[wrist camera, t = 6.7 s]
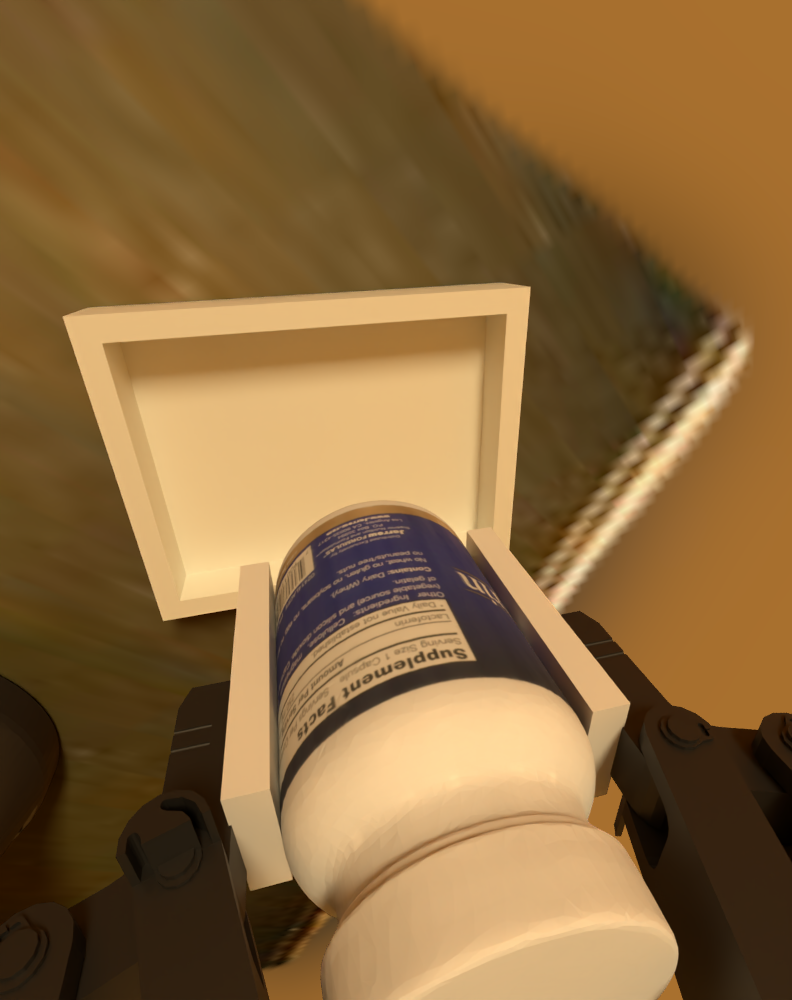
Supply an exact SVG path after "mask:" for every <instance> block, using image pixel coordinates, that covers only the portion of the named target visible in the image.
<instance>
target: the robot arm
mask: <svg viewBox="0 0 792 1000" xmlns="http://www.w3.org/2000/svg"><path fill="white" fill-rule="evenodd" d="M466 549H467V550H468V552H469V553H470V555H471V557H472V558H473V560H474V561H475V563H476V564H477V566H478V567H479V569H480V570H481V572H482V573H483V575H484V576H485V578H486V579H487V581H488V582H489V584H490V585H491V587H492V588H493V590H494V591H495V593H496V594H497V596H498V597H499V599H500V600H501V602H502V604H503V605H504V607H505V608H506V610H507V611H508V613H509V614H510V616H511V617H512V619H513V620H514V622H515V623H516V625H517V626H518V628H519V629H520V631H521V632H522V634H523V635H524V637H525V638H526V640H527V641H528V643H529V644H530V646H531V647H532V649H533V650H534V652H535V653H536V655H537V656H538V658H539V659H540V661H541V662H542V664H543V665H544V667H545V668H546V670H547V671H548V673H549V674H550V676H551V677H552V679H553V680H554V682H555V683H556V684H557V686H558V687H559V689H560V690H561V692H562V693H563V695H564V696H565V698H566V699H567V701H568V702H569V704H570V705H571V707H572V709H573V710H574V712H575V713H576V715H577V717H578V718H579V720H580V722H581V724H582V726H583V728H584V729H585V732H586V734H587V736H588V739H589V742H590V744H591V748H592V751H593V756H594V762H595V773H596V782H595V794H594V797H598V796H602V795H605V794H607V790H608V787H609V783H610V779H611V777H612V778H613V780H614V781H615V783H616V784H617V786H618V787H619V789H620V790H621V792H622V794H623V795H622V799H621V802H620V806H619V809H618V813H617V816H616V820H615V823H614V827H615V836H621V835H622V832H623V828H624V825H626V828H627V831H628V834H629V837H630V840H631V843H632V846H633V849H634V852H635V855H636V858H637V861H638V864H639V867H640V870H641V873H642V876H643V879H644V881H645V883H646V885H647V887H648V888H649V890H650V892H651V894H652V896H653V897H654V899H655V901H656V903H657V905H658V906H659V908H660V910H661V912H662V914H663V916H664V917H665V919H666V921H667V923H668V924H669V926H670V928H671V930H672V932H673V934H674V936H675V939H676V943H677V946H678V962H677V966H676V970H675V972H674V973H675V976H676V979H677V982H678V985H679V988H680V991H681V995H682V998H683V1000H792V714H789V713H772V714H770V715H768V716H766V717H764V718H763V720H762V723H761V725H760V727H759V729H758V730H751V729H737V728H725V727H716V726H711V725H710V724H709V723H708V722H706V721H705V720H704V719H702V718H701V717H700V716H698V715H697V714H696V713H693V712H691V711H689V710H686V709H684V708H682V707H677V706H672V705H671V704H670V703H669V702H667V700H666V699H665V698H664V697H663V696H662V695H661V693H660V692H659V691H658V690H657V689H656V688H655V687H654V685H652V683H651V682H650V681H649V680H648V679H647V677H646V676H645V675H644V674H643V673H642V672H641V671H640V670H639V668H638V667H637V666H636V665H635V664H634V663H633V662H632V661H631V659H630V658H629V657H628V656H627V655H626V654H624V653H623V650H622V649H621V648H620V647H619V646H618V644H617V643H616V642H613V640H612V638H611V637H610V635H609V634H608V633H607V632H606V631H605V630H604V628H603V627H602V626H601V625H600V624H599V623H598V622H596V621H595V620H593V619H592V618H590V617H588V616H587V615H585V614H584V613H582V612H580V611H577V612H572V613H567V614H562V615H560V614H559V613H558V611H557V610H556V609H555V607H554V606H553V605H552V604H551V602H550V601H549V600H548V599H547V597H546V596H545V595H544V594H543V592H542V591H541V590H540V589H539V587H538V586H537V585H536V583H535V582H534V581H533V580H532V578H531V577H530V576H529V575H528V573H527V572H526V571H525V570H524V568H523V567H522V566H521V565H520V563H519V562H518V561H517V559H516V558H515V557H514V556H513V554H512V553H511V552H510V551H509V549H508V548H507V547H506V546H505V544H504V543H503V542H502V541H501V539H500V538H499V537H498V535H497V534H496V533H495V532H494V530H493V529H492V528H491V527H488V528H481V529H475V530H468V531H467V538H466ZM174 732H175V735H174V736H173V741H172V746H171V755H170V756H169V762H168V767H167V772H166V777H165V782H164V788H163V793H162V794H161V795H159V796H157V797H156V798H154V799H153V800H151V801H150V802H148V803H146V804H145V805H143V806H142V807H141V808H140V809H139V810H138V811H137V813H136V814H135V815H134V816H133V817H132V818H131V819H130V820H129V821H128V823H127V825H126V827H125V828H124V830H123V832H122V834H121V836H120V838H119V841H118V847H117V853H116V859H117V861H118V862H119V864H120V866H121V868H122V870H123V872H124V875H123V876H122V877H120V878H119V879H117V880H116V881H115V882H113V883H112V884H110V885H109V886H107V887H105V888H104V889H102V890H100V891H99V892H97V893H95V894H93V895H92V896H90V897H88V898H86V899H85V900H83V901H81V902H80V903H78V904H76V905H74V906H73V907H71V908H69V909H67V908H66V907H64V906H62V905H59V904H57V903H55V902H49V903H40V904H35V905H33V906H31V907H28V908H26V909H24V910H22V911H20V912H18V913H16V914H14V915H13V916H12V917H11V918H9V919H8V920H7V921H6V922H4V923H3V924H2V925H1V926H0V1000H269V996H268V992H267V988H266V985H265V980H264V976H263V972H262V968H261V964H260V960H259V956H258V952H257V948H256V944H255V940H254V936H253V932H252V929H251V925H250V921H249V918H248V915H247V912H246V882H248V885H249V888H250V891H253V890H256V889H260V888H264V887H267V886H271V885H275V884H278V883H282V882H286V881H289V880H293V877H292V872H291V870H290V867H289V865H288V862H287V859H286V855H285V851H284V847H283V839H282V831H281V814H280V783H279V744H278V702H277V663H276V638H275V592H274V586H273V581H272V576H271V570H270V565H269V562H263V563H256V564H250V565H243V566H240V576H239V588H238V600H237V611H236V623H235V635H234V647H233V658H232V670H231V681H226V682H221V683H215V684H210V685H205V686H200V687H195V688H192V689H191V691H190V692H189V694H188V695H187V697H186V698H185V700H184V702H183V703H182V705H181V706H180V708H179V710H178V715H177V720H176V725H175V730H174ZM58 760H59V741H58V736H57V733H56V730H55V728H54V725H53V723H52V722H51V720H50V718H49V716H48V715H47V714H46V712H45V711H44V710H43V709H42V707H41V706H40V705H39V704H38V703H37V702H36V701H35V700H34V699H33V698H32V697H31V696H29V695H28V694H27V693H26V692H24V691H23V690H22V689H20V688H19V687H17V686H16V685H15V684H13V683H11V682H10V681H8V680H6V679H4V678H3V677H1V676H0V857H1V856H2V854H3V853H4V852H5V850H6V849H7V847H8V846H9V845H10V843H11V842H12V841H13V840H14V839H15V838H16V837H17V836H18V835H19V834H20V833H21V832H22V830H23V829H24V828H25V827H26V826H27V825H28V824H29V823H30V821H31V820H32V819H33V817H34V816H35V814H36V813H37V811H38V809H39V807H40V806H41V804H42V802H43V800H44V797H45V795H46V792H47V790H48V788H49V785H50V783H51V780H52V778H53V775H54V773H55V770H56V768H57V764H58Z"/></svg>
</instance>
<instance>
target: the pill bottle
mask: <svg viewBox="0 0 792 1000" xmlns="http://www.w3.org/2000/svg"><path fill="white" fill-rule="evenodd" d="M275 638H276V663H277V702H278V744H279V783H280V814H281V831H282V839H283V847H284V851H285V855H286V859H287V862H288V865H289V867H290V870H291V872H292V874H293V876H294V878H295V879H296V881H297V883H298V885H299V886H300V887H301V889H302V890H303V892H304V893H305V894H306V895H307V897H308V898H309V899H310V900H311V901H312V902H313V903H315V904H316V905H317V906H318V907H319V908H321V909H322V910H323V911H325V912H326V913H327V914H329V915H330V916H332V917H334V918H337V919H338V926H337V929H336V932H335V933H334V935H333V937H332V939H331V941H330V943H329V944H328V946H327V948H326V951H325V954H324V957H323V960H322V965H321V987H322V994H323V1000H657V999H658V998H659V996H660V995H661V994H662V992H663V991H664V990H665V988H666V987H667V985H668V983H669V982H670V980H671V978H672V976H673V974H674V972H675V970H676V966H677V962H678V946H677V943H676V939H675V936H674V934H673V932H672V930H671V928H670V926H669V924H668V923H667V921H666V919H665V917H664V916H663V914H662V912H661V910H660V908H659V906H658V905H657V903H656V901H655V899H654V897H653V896H652V894H651V892H650V890H649V888H648V887H647V885H646V883H645V881H644V880H643V878H642V876H641V875H640V873H639V871H638V870H637V868H636V866H635V865H634V863H633V861H632V860H631V858H630V857H629V855H628V853H627V852H626V850H625V848H624V847H623V846H622V845H621V843H620V842H619V841H618V840H617V839H615V838H614V837H612V836H611V835H610V834H608V833H606V832H604V831H602V830H600V829H598V828H597V827H595V826H593V825H591V824H590V823H589V821H588V817H589V814H590V811H591V808H592V803H593V800H594V794H595V782H596V773H595V762H594V756H593V751H592V748H591V744H590V742H589V739H588V736H587V734H586V732H585V729H584V728H583V726H582V724H581V722H580V720H579V718H578V717H577V715H576V713H575V712H574V710H573V709H572V707H571V705H570V704H569V702H568V701H567V699H566V698H565V696H564V695H563V693H562V692H561V690H560V689H559V687H558V686H557V684H556V683H555V682H554V680H553V679H552V677H551V676H550V674H549V673H548V671H547V670H546V668H545V667H544V665H543V664H542V662H541V661H540V659H539V658H538V656H537V655H536V653H535V652H534V650H533V649H532V647H531V646H530V644H529V643H528V641H527V640H526V638H525V637H524V635H523V634H522V632H521V631H520V629H519V628H518V626H517V625H516V623H515V622H514V620H513V619H512V617H511V616H510V614H509V613H508V611H507V610H506V608H505V607H504V605H503V604H502V602H501V600H500V599H499V597H498V596H497V594H496V593H495V591H494V590H493V588H492V587H491V585H490V584H489V582H488V581H487V579H486V578H485V576H484V575H483V573H482V572H481V570H480V569H479V567H478V566H477V564H476V563H475V561H474V560H473V558H472V557H471V555H470V553H469V552H468V550H467V549H466V547H465V546H464V545H463V543H462V541H461V540H460V539H459V537H458V536H457V535H456V533H455V532H454V531H453V529H452V528H451V527H450V526H449V525H448V524H447V523H446V522H445V521H443V520H442V519H441V518H440V517H438V516H437V515H435V514H434V513H432V512H431V511H429V510H427V509H425V508H422V507H420V506H417V505H414V504H410V503H406V502H400V501H389V500H379V501H367V502H362V503H357V504H353V505H349V506H346V507H344V508H341V509H339V510H336V511H334V512H332V513H330V514H328V515H327V516H325V517H323V518H321V519H320V520H319V521H317V522H316V523H314V524H313V525H312V526H311V527H309V528H308V529H307V530H306V531H305V532H304V533H303V534H302V535H301V536H300V537H299V538H298V539H297V540H296V541H295V543H294V544H293V545H292V547H291V548H290V550H289V551H288V553H287V554H286V556H285V558H284V560H283V563H282V565H281V568H280V570H279V574H278V578H277V582H276V589H275Z"/></svg>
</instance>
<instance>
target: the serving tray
mask: <svg viewBox="0 0 792 1000" xmlns="http://www.w3.org/2000/svg"><path fill="white" fill-rule="evenodd" d="M529 299H530V287H527V286H520V285H514V284H507V283H485V284H469V285H452V286H436V287H419V288H403V289H386V290H370V291H353V292H337V293H320V294H303V295H287V296H270V297H254V298H237V299H221V300H204V301H188V302H171V303H155V304H138V305H122V306H105V307H89V308H86V309H83V310H80V311H77V312H74V313H71V314H69V315H66V316H63V319H64V322H65V325H66V328H67V331H68V334H69V337H70V340H71V343H72V346H73V349H74V352H75V355H76V358H77V361H78V364H79V367H80V371H81V374H82V377H83V380H84V383H85V386H86V389H87V392H88V395H89V398H90V401H91V404H92V407H93V410H94V413H95V416H96V419H97V422H98V425H99V428H100V431H101V434H102V437H103V440H104V443H105V446H106V449H107V452H108V455H109V458H110V461H111V464H112V467H113V470H114V473H115V476H116V480H117V483H118V486H119V489H120V492H121V495H122V498H123V501H124V504H125V507H126V510H127V513H128V516H129V519H130V522H131V525H132V528H133V531H134V534H135V537H136V540H137V543H138V546H139V549H140V552H141V555H142V558H143V561H144V564H145V567H146V570H147V573H148V576H149V579H150V582H151V586H152V589H153V592H154V595H155V598H156V601H157V604H158V607H159V610H160V613H161V616H162V619H163V621H166V620H172V619H178V618H184V617H189V616H195V615H201V614H207V613H213V612H218V611H224V610H230V609H236V608H237V600H238V588H239V576H240V566H243V565H250V564H256V563H263V562H269V565H270V570H271V576H272V581H273V586H274V592H275V589H276V582H277V578H278V574H279V570H280V568H281V565H282V563H283V560H284V558H285V556H286V554H287V553H288V551H289V550H290V548H291V547H292V545H293V544H294V543H295V541H296V540H297V539H298V538H299V537H300V536H301V535H302V534H303V533H304V532H305V531H306V530H307V529H308V528H309V527H311V526H312V525H313V524H314V523H316V522H317V521H319V520H320V519H321V518H323V517H325V516H327V515H328V514H330V513H332V512H334V511H336V510H339V509H341V508H344V507H346V506H349V505H353V504H357V503H362V502H367V501H379V500H389V501H400V502H406V503H410V504H414V505H417V506H420V507H422V508H425V509H427V510H429V511H431V512H432V513H434V514H435V515H437V516H438V517H440V518H441V519H442V520H443V521H445V522H446V523H447V524H448V525H449V526H450V527H451V528H452V529H453V531H454V532H455V533H456V535H457V536H458V537H459V539H460V540H461V541H462V543H463V545H464V546H465V547H466V538H467V531H468V530H475V529H481V528H488V527H491V528H492V529H493V530H494V532H495V533H496V534H497V535H498V537H499V538H500V539H501V541H502V542H503V543H504V544H505V546H506V547H507V548H508V549H509V544H510V532H511V519H512V507H513V495H514V483H515V470H516V458H517V446H518V434H519V422H520V409H521V397H522V385H523V373H524V360H525V348H526V336H527V324H528V311H529Z"/></svg>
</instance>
